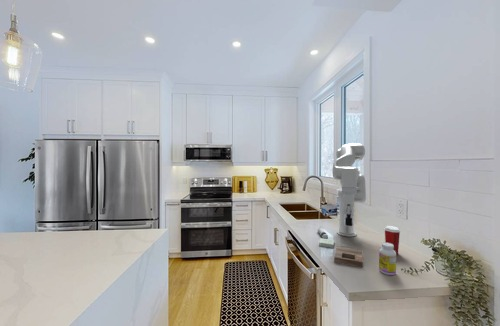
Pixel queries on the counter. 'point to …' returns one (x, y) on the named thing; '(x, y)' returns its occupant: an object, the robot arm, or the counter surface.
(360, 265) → the walnut flange plate
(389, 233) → the paper cup
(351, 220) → the robot arm
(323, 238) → the torpedo
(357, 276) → the counter surface
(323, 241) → the tab
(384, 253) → the supplement bottle
